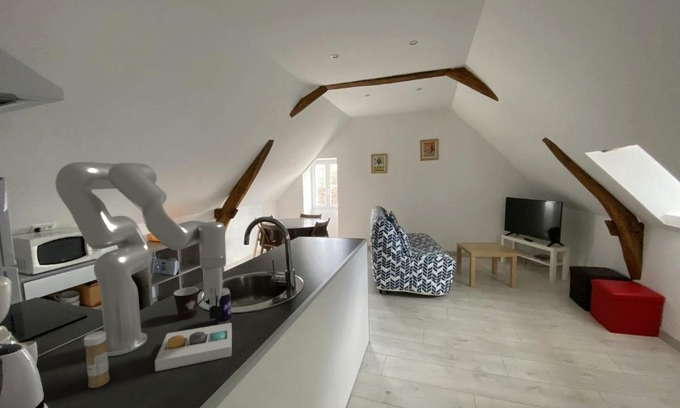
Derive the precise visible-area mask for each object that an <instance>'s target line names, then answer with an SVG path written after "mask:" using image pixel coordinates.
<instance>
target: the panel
mask: <svg viewBox="0 0 680 408" xmlns="http://www.w3.org/2000/svg"><path fill="white" fill-rule="evenodd" d="M232 328H233V327H232V322H227V323H223V324H216V325H210V326H204V327H198V328H192V329H186V330H185V329H184V330H181V331H180V330H179V331H174V332H167V333H166V335H165V337H164V339H163V341H162V344H161V347H160V349H159V351H158V353H157V356H156V358H155V360H154V369H155V372H159V371H161V372H162V371H164V370H170V369H175V368H180V367H185V366H191V365H195V364H199V363H203V362H204V363H205V362H209V361H215V360H219V359H224V358H229V357H232V350H233V349H232V346H233V345H232V344H233V343H232V342H233V341H232V340H233V337H232V335H233V329H232ZM196 332H204V333H205V343H202V344H196V345H191V346H190V338H189V337H190V335H191V334H193V333H196ZM215 332H225V339H223V340H218V341H212V342H211V337H210V336H211V335H212V334H213V333H215ZM177 335H182V336H184V347H180V348H175V349H169V350H168V339H170V338H171V337H173V336H177Z"/></svg>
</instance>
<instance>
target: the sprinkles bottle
mask: <svg viewBox="0 0 680 408" xmlns="http://www.w3.org/2000/svg"><path fill="white" fill-rule="evenodd" d="M106 339H107V337H106V332H104V330H99V331H94V332H90V333H89V334H87V335H85V336H84V338H83V345H84V347H85V354H86V357H85V360H86V369H87V372H86V373H87V377H88V384H87V385H88V388H90V389H97V388H100V387H101V386H104V385H106V384H107V383H109V381H110V379H111V377H110V372H109V356H108V354H107V346H106Z"/></svg>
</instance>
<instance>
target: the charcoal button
mask: <svg viewBox="0 0 680 408" xmlns="http://www.w3.org/2000/svg"><path fill="white" fill-rule="evenodd" d="M189 338H190V346H191V345H196V344H202V343H205V333H204V332H196V333H193V334H191V335H190V337H189Z"/></svg>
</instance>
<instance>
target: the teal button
mask: <svg viewBox="0 0 680 408" xmlns="http://www.w3.org/2000/svg"><path fill="white" fill-rule="evenodd" d="M210 337H211V342H212V341H218V340H223V339H225V332H215V333H213V334H212V335H211V336H210Z"/></svg>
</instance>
